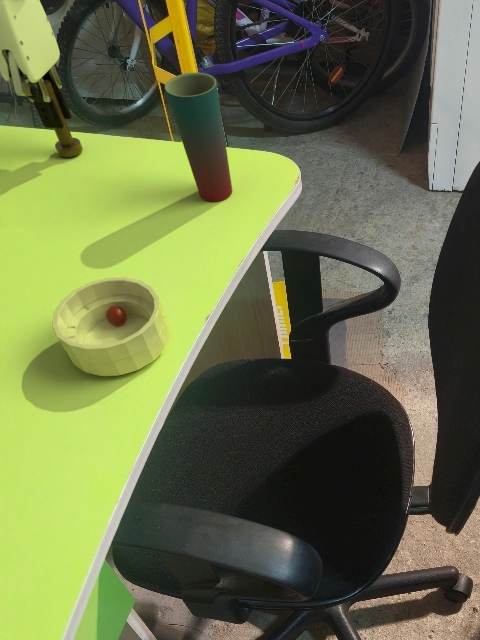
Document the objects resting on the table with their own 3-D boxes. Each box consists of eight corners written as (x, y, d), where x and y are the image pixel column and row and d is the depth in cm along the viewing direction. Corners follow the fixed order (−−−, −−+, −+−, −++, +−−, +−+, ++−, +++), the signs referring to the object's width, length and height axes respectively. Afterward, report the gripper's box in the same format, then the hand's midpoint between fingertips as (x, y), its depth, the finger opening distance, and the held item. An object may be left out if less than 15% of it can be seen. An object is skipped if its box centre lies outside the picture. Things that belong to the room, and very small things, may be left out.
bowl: (54, 375, 70) (34, 344, 65) (93, 305, 76) (77, 273, 72) (152, 384, 68) (138, 353, 64) (183, 312, 75) (172, 280, 71)
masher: (53, 156, 96) (24, 88, 87) (64, 143, 98) (35, 76, 89) (77, 158, 95) (49, 90, 87) (86, 145, 97) (60, 78, 89)
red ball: (107, 329, 73) (99, 314, 71) (114, 316, 74) (107, 301, 72) (125, 330, 73) (118, 315, 71) (132, 317, 74) (125, 302, 72)
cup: (185, 200, 89) (154, 91, 76) (208, 176, 92) (182, 69, 79) (224, 209, 87) (199, 100, 75) (246, 185, 91) (225, 77, 78)
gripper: (-1, -46, 82) (57, 97, 97) (-61, -3, 73) (13, 147, 89) (49, -45, 81) (100, 100, 97) (-5, -1, 73) (60, 150, 88)
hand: (58, 121), depth 93 cm, fingers closed on masher, 2 cm apart
